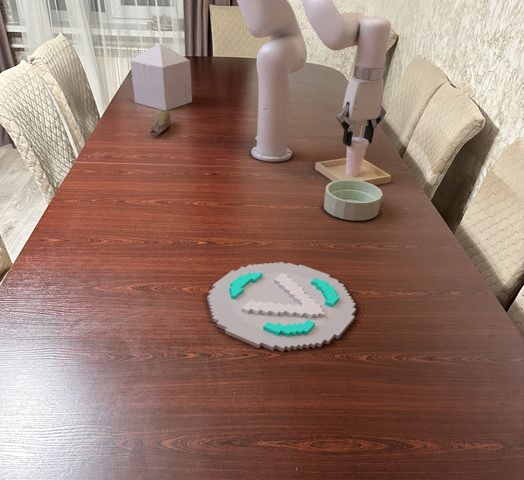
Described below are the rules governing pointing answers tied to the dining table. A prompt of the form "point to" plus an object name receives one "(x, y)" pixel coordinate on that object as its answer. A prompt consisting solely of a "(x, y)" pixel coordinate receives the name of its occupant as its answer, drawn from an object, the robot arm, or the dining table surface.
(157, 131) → the decorative bird model
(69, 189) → the dining table surface
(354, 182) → the bowl
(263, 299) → the grey pixelated disc
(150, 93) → the decorative block
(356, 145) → the smoothie
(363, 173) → the tray
